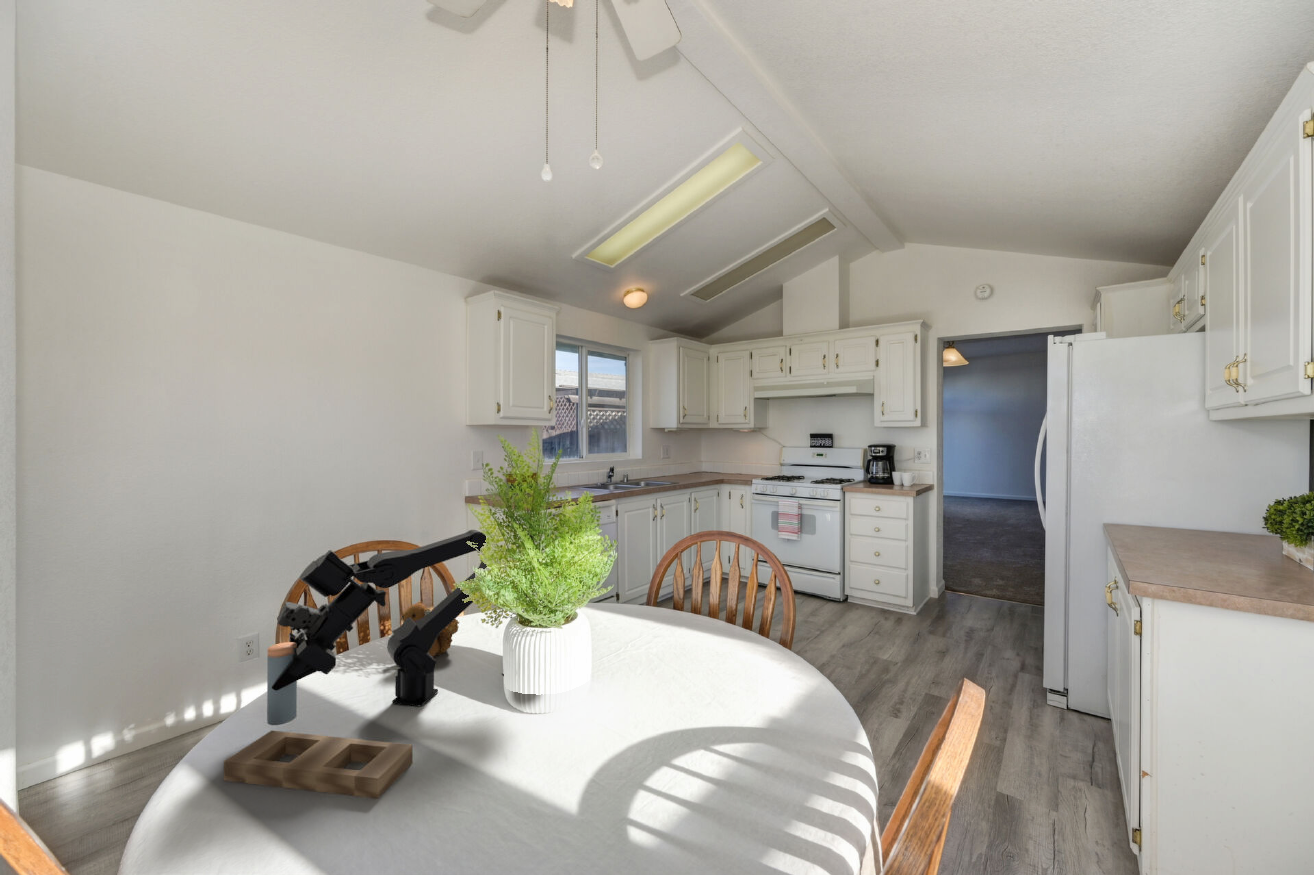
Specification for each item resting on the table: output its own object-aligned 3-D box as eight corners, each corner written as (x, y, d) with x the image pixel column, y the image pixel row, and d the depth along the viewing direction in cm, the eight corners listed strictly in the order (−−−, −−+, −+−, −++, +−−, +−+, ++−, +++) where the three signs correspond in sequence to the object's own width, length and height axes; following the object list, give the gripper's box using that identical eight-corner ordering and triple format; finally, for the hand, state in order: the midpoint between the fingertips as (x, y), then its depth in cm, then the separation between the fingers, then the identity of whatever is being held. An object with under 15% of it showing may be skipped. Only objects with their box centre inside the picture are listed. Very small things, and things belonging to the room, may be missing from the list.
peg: (302, 713, 102) (302, 643, 102) (283, 726, 98) (283, 652, 98) (281, 711, 103) (281, 641, 103) (260, 724, 98) (261, 650, 98)
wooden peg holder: (412, 763, 92) (412, 744, 92) (377, 798, 83) (377, 778, 83) (271, 747, 96) (271, 730, 96) (223, 780, 87) (223, 761, 87)
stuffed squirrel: (390, 656, 135) (390, 601, 135) (449, 643, 143) (450, 592, 143) (399, 670, 127) (399, 612, 127) (462, 656, 135) (462, 602, 135)
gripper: (303, 574, 110) (233, 642, 103) (314, 598, 95) (232, 679, 88) (348, 607, 115) (283, 674, 108) (365, 635, 100) (291, 714, 93)
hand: (272, 684), depth 99 cm, fingers closed on peg, 4 cm apart
